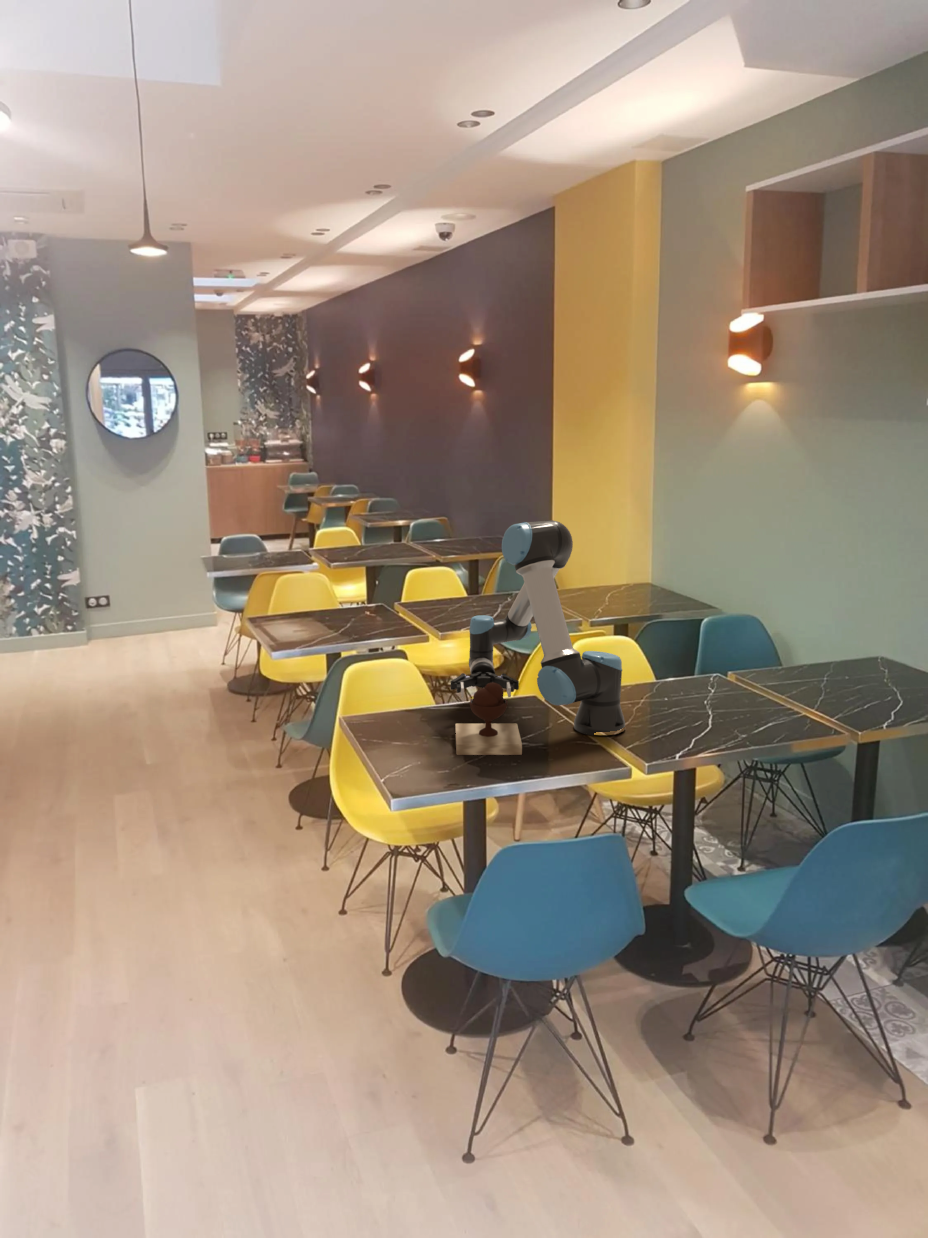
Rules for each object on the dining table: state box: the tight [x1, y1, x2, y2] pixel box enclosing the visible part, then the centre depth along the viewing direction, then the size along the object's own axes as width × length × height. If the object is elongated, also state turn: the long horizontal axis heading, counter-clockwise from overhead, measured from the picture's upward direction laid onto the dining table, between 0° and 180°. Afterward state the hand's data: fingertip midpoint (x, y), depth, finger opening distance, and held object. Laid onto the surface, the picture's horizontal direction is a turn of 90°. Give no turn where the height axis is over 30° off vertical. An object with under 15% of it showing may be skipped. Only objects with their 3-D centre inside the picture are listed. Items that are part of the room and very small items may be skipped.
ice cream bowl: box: [469, 682, 509, 737], centre depth 277 cm, size 11×11×15 cm
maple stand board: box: [454, 722, 523, 756], centre depth 279 cm, size 18×18×3 cm
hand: (486, 692), depth 284 cm, fingers open, 13 cm apart
